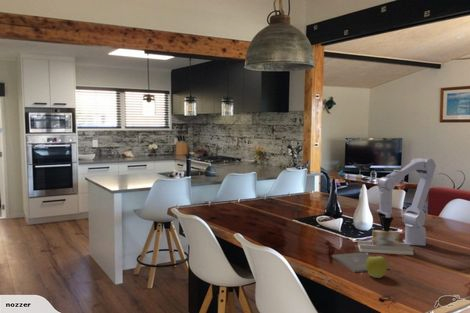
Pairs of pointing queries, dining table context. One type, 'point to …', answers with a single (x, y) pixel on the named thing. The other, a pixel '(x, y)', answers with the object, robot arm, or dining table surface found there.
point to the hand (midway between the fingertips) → (384, 228)
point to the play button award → (353, 261)
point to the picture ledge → (385, 248)
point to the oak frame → (385, 238)
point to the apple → (376, 266)
